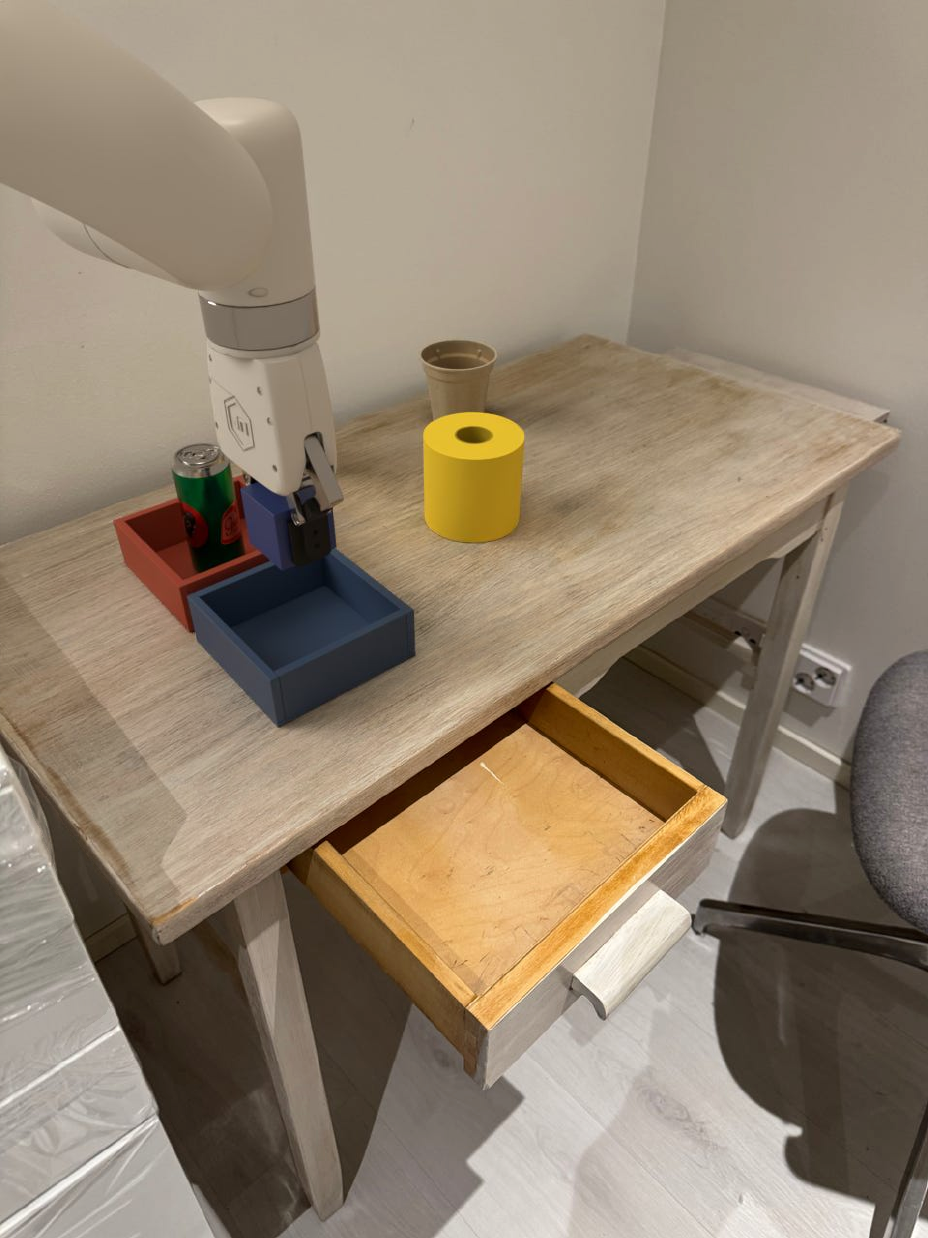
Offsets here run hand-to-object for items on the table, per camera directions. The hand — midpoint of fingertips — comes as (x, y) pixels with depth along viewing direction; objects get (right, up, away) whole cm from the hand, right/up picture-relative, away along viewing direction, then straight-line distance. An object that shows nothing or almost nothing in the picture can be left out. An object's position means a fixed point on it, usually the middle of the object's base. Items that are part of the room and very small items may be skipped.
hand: (292, 540), depth 70 cm
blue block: (0, 0, 0) cm, 0 cm away
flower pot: (+13, +19, +41) cm, 47 cm away
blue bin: (0, -9, +7) cm, 11 cm away
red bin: (-10, -1, +16) cm, 19 cm away
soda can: (-10, -1, +15) cm, 18 cm away
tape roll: (+14, +5, +24) cm, 28 cm away
